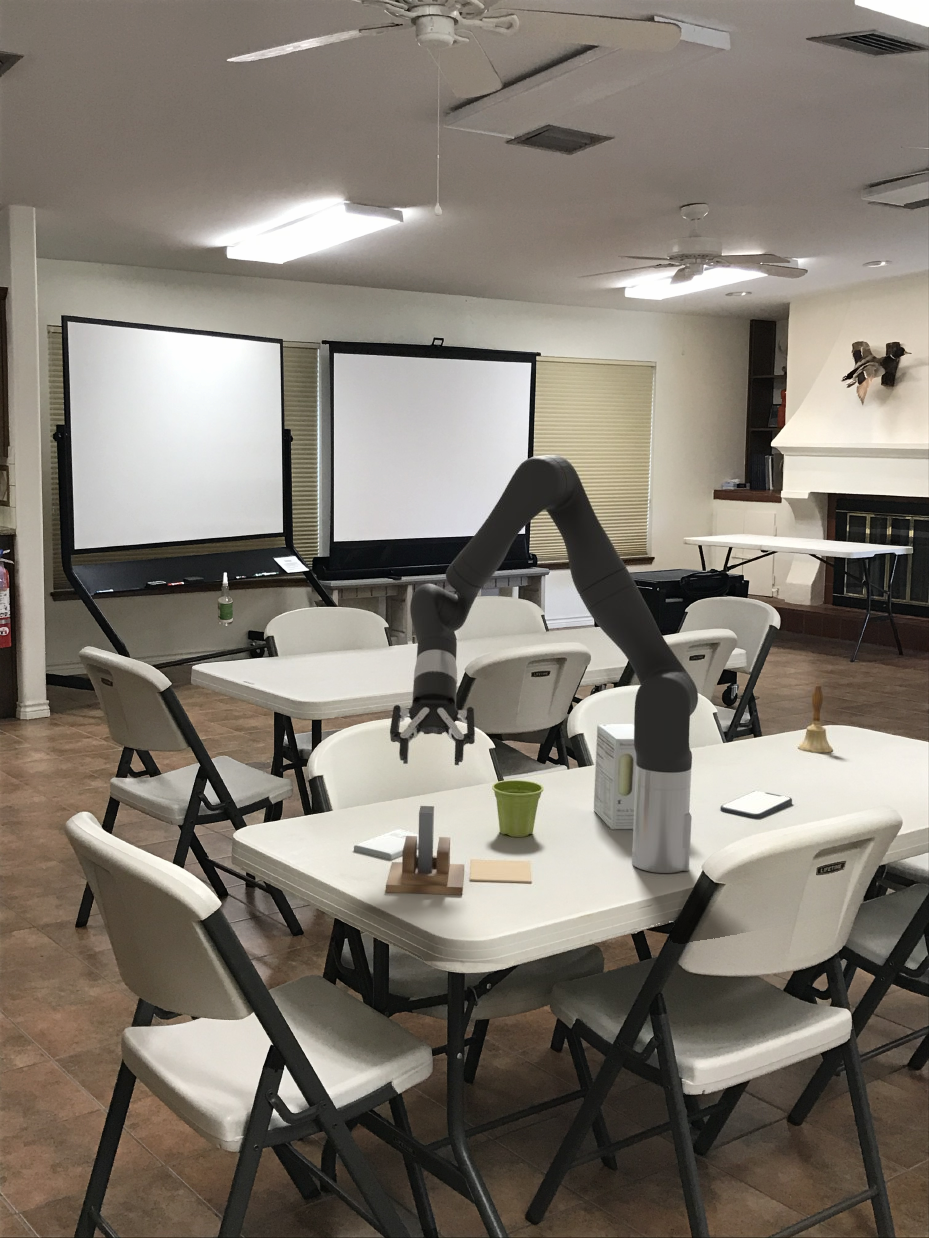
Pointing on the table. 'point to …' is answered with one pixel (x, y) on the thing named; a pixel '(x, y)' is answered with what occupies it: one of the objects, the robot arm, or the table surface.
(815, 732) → the hand bell
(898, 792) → the table surface
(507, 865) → the cork mat
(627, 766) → the supplement box
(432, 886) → the rack
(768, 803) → the phone case
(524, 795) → the plant pot
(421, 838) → the grey rectangular block
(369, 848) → the external hard drive
